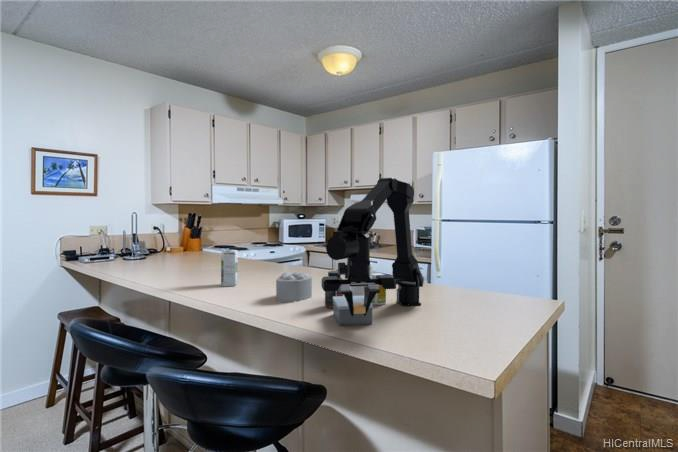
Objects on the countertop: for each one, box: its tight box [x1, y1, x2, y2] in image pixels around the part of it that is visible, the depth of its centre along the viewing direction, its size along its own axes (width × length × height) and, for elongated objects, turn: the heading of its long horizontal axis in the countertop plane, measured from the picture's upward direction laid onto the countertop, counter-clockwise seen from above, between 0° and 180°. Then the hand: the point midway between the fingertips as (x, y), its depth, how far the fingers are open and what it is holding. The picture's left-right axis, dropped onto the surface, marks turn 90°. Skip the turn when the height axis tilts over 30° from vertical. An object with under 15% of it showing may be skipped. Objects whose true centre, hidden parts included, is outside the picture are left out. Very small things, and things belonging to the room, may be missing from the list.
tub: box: [332, 301, 373, 327], centre depth 101 cm, size 9×11×4 cm
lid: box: [333, 295, 374, 314], centre depth 98 cm, size 9×16×2 cm, turn 9°
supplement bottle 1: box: [324, 270, 344, 309], centre depth 114 cm, size 6×6×11 cm
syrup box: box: [220, 249, 239, 287], centre depth 147 cm, size 6×6×14 cm
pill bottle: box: [350, 262, 374, 296], centre depth 129 cm, size 8×8×15 cm
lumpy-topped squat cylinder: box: [275, 271, 313, 303], centre depth 126 cm, size 10×13×9 cm
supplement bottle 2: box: [371, 272, 387, 306], centre depth 119 cm, size 5×5×10 cm
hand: (358, 315), depth 92 cm, fingers closed on lid, 3 cm apart
